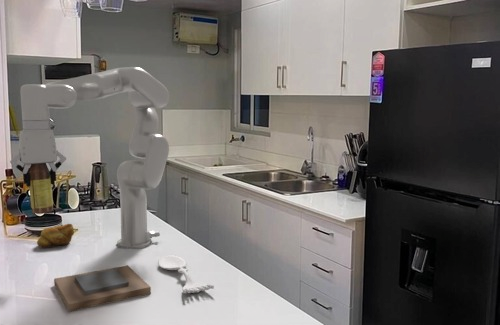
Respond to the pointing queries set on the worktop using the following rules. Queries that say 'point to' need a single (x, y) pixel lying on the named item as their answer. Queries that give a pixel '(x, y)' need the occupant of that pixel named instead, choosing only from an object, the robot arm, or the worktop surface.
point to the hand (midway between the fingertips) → (40, 184)
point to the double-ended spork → (179, 264)
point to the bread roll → (56, 236)
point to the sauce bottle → (40, 188)
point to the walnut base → (100, 287)
